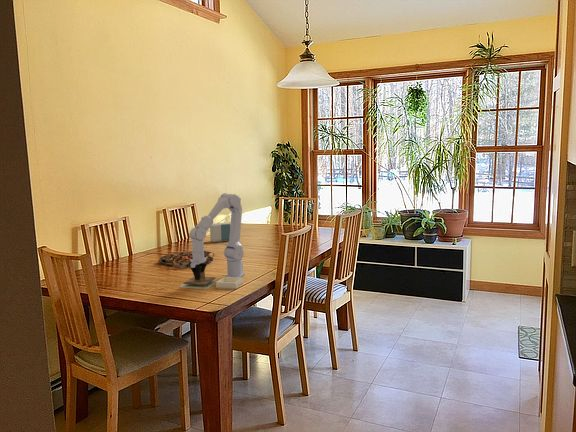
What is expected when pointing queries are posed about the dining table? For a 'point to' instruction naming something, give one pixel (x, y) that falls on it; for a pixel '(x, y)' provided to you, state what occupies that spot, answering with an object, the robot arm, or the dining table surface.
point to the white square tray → (229, 283)
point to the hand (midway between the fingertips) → (199, 278)
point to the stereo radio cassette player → (220, 231)
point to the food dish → (182, 259)
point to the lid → (202, 280)
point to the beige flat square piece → (199, 285)
